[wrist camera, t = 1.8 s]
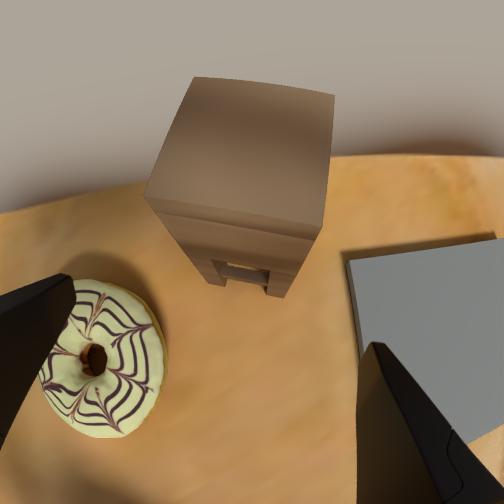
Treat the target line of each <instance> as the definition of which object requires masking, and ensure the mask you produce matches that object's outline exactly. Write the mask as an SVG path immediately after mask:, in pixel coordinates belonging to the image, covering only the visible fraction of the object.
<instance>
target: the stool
mask: <svg viewBox="0 0 504 504" xmlns="http://www.w3.org/2000/svg"><path fill="white" fill-rule="evenodd" d="M334 100H335V95H332V94H327V93H322V92H317V91H312V90H307V89H301V88H295V87H288V86H283V85H276V84H269V83H261V82H253V81H244V80H233V79H222V78H206V77H194V78H193V80H192V82H191V84H190V86H189V88H188V90H187V92H186V94H185V96H184V99H183V101H182V103H181V105H180V107H179V109H178V112H177V114H176V116H175V118H174V120H173V123H172V125H171V127H170V130H169V132H168V134H167V137H166V139H165V141H164V144H163V146H162V149H161V151H160V153H159V156H158V159H157V161H156V163H155V166H154V169H153V171H152V174H151V176H150V179H149V182H148V184H147V187H146V190H145V193H144V195H143V196H144V198H145V199H146V201H147V202H148V203H149V205H150V206H151V208H152V209H153V210H154V212H155V213H156V214H157V216H158V217H159V219H160V220H161V221H162V223H163V224H164V225H165V227H166V228H167V230H168V231H169V232H170V234H171V235H172V236H173V238H174V239H175V240H176V242H177V243H178V244H179V246H180V247H181V248H182V250H183V251H184V252H185V254H186V255H187V256H188V258H189V259H190V260H191V262H192V263H193V264H194V266H195V267H196V268H197V270H198V271H199V272H200V273H201V275H202V276H203V277H204V279H205V280H206V281H207V282H208V283H209V284H214V285H219V286H224V287H225V286H226V281H227V278H228V279H233V280H238V281H243V282H248V283H253V284H258V285H263V286H268V287H267V293H266V295H269V296H274V297H280V298H284V297H285V295H286V293H287V291H288V290H289V288H290V286H291V284H292V282H293V281H294V279H295V277H296V275H297V273H298V272H299V270H300V268H301V266H302V264H303V262H304V261H305V259H306V257H307V255H308V253H309V251H310V249H311V247H312V246H313V244H314V242H315V240H316V238H317V236H318V234H319V232H320V230H321V229H322V226H323V218H324V210H325V201H326V193H327V183H328V174H329V164H330V153H331V142H332V141H331V140H332V129H333V115H334ZM226 262H229V263H234V264H239V265H244V266H249V267H254V268H260V269H265V270H270V273H265V272H259V271H254V270H249V269H244V268H239V267H234V266H229V265H227V263H226Z"/></svg>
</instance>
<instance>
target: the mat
mask: <svg viewBox="0 0 504 504" xmlns="http://www.w3.org/2000/svg"><path fill="white" fill-rule="evenodd" d="M346 269H347V275H348V280H349V286H350V292H351V298H352V304H353V310H354V317H355V323H356V330H357V338H358V345H359V353H360V360H361V358H362V356H363V354H364V352H365V350H366V348H367V346H368V345H369V343H370V342H372V341H376V342H383V343H385V344H386V345H387V346H388V347H389V349H390V350H391V351H392V352H393V353H394V355H395V356H396V357H397V358H398V359H399V361H400V362H401V363H402V364H403V365H404V367H405V368H406V369H407V370H408V372H409V373H410V374H411V375H412V377H413V378H414V379H415V380H416V381H417V383H418V384H419V385H420V386H421V388H422V389H423V390H424V391H425V393H426V394H427V395H428V396H429V398H430V399H431V400H432V402H433V403H434V404H435V405H436V407H437V408H438V409H439V410H440V412H441V413H442V414H443V416H444V417H445V418H446V419H447V421H448V422H449V423H450V425H451V426H452V429H454V430H455V431H456V432H457V434H458V435H459V436H460V438H461V439H462V440H463V441H464V443H465V444H468V443H470V442H472V441H474V440H476V439H478V438H479V437H481V436H483V435H485V434H487V433H489V432H490V431H492V430H494V429H496V428H497V427H499V426H501V425H502V424H504V238H501V239H494V240H488V241H482V242H475V243H469V244H462V245H456V246H449V247H442V248H435V249H428V250H421V251H414V252H407V253H400V254H393V255H386V256H378V257H371V258H364V259H356V260H349V261H348V262H347V263H346Z"/></svg>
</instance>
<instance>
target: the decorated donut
mask: <svg viewBox="0 0 504 504" xmlns="http://www.w3.org/2000/svg"><path fill="white" fill-rule="evenodd" d="M73 282H74V287H75V291H76V296H77V301H76V304H75V306H74V308H73V310H72V312H71V314H70V316H69V318H68V320H67V322H66V324H65V326H64V328H63V330H62V332H61V334H60V336H59V338H58V340H57V342H56V344H55V346H54V347H53V349H52V351H51V352H50V354H49V356H48V357H47V359H46V361H45V363H44V364H43V366H42V368H41V370H40V371H39V373H38V375H37V377H38V380H39V383H40V386H41V388H42V391H43V393H44V395H45V397H46V399H47V400H48V402H49V403H50V405H51V407H52V408H53V409H54V411H55V412H56V413H57V414H58V415H59V416H60V417H61V418H62V419H63V420H64V421H66V422H67V423H68V424H69V425H70V426H72V427H73V428H74V429H76V430H78V431H80V432H82V433H84V434H86V435H88V436H91V437H96V438H114V437H116V438H118V437H124V436H127V435H128V434H129V433H130V432H132V431H133V430H135V429H136V428H138V427H139V425H140V424H141V423H143V422H144V421H145V419H146V418H147V417H149V415H150V414H151V413H152V411H153V410H154V409H155V407H156V405H157V404H158V403H159V400H160V398H161V395H162V392H163V388H164V384H165V381H166V377H167V373H168V371H167V370H168V369H167V366H168V352H167V346H166V342H165V339H164V336H163V333H162V331H161V328H160V326H159V324H158V321H157V319H156V317H155V316H154V314H153V312H152V311H151V310H150V308H149V307H148V305H147V304H146V303H145V302H144V301H143V300H142V299H141V298H140V297H138V296H137V295H135V294H134V293H132V292H130V291H128V290H126V289H124V288H121V287H119V286H115V285H114V284H111V283H109V282H106V283H105V282H100V281H97V280H93V279H81V280H75V281H73ZM92 344H99V345H101V346H103V347H104V348H105V352H106V353H107V357H108V359H107V364H106V370H105V371H104V373H103V374H101V375H100V376H95V375H94V374H93V372H92V371H91V370H90V368H89V367H90V366H89V365H88V360H87V357H88V356H87V354H88V351H89V348H90V347H91V345H92Z"/></svg>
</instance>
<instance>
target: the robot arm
mask: <svg viewBox="0 0 504 504" xmlns="http://www.w3.org/2000/svg"><path fill="white" fill-rule="evenodd" d="M76 301H77V296H76V291H75V287H74V282H73V279H72V277H71V276H69V275H66V274H63V273H59V274H56V275H54V276H51V277H48V278H46V279H43V280H40V281H37V282H35V283H32V284H29V285H27V286H24V287H22V288H19V289H16V290H14V291H11V292H9V293H6V294H4V295H1V296H0V450H1V448H2V445H3V443H4V441H5V438H6V436H7V434H8V432H9V430H10V427H11V425H12V423H13V421H14V419H15V417H16V415H17V413H18V411H19V409H20V407H21V405H22V403H23V401H24V399H25V397H26V395H27V393H28V391H29V390H30V388H31V386H32V384H33V382H34V380H35V378H36V377H37V375H38V373H39V371H40V370H41V368H42V366H43V364H44V363H45V361H46V359H47V357H48V356H49V354H50V352H51V351H52V349H53V347H54V346H55V344H56V342H57V340H58V338H59V336H60V334H61V332H62V330H63V328H64V326H65V324H66V322H67V320H68V318H69V316H70V314H71V312H72V310H73V308H74V306H75V304H76ZM356 439H357V502H356V504H504V487H503V486H502V485H501V484H500V483H499V482H498V481H497V480H496V478H495V477H494V476H493V475H492V474H491V473H490V472H489V471H488V470H487V468H486V467H485V466H484V465H483V464H482V463H481V462H480V461H479V459H478V458H477V457H476V456H475V455H474V454H473V453H472V451H471V450H470V449H469V448H468V446H467V445H466V444H465V443H464V441H463V440H462V439H461V438H460V436H459V435H458V434H457V432H456V431H455V430H454V429H452V426H451V425H450V423H449V422H448V421H447V419H446V418H445V417H444V416H443V414H442V413H441V412H440V410H439V409H438V408H437V407H436V405H435V404H434V403H433V402H432V400H431V399H430V398H429V396H428V395H427V394H426V393H425V391H424V390H423V389H422V388H421V386H420V385H419V384H418V383H417V381H416V380H415V379H414V378H413V377H412V375H411V374H410V373H409V372H408V370H407V369H406V368H405V367H404V365H403V364H402V363H401V362H400V361H399V359H398V358H397V357H396V356H395V355H394V353H393V352H392V351H391V350H390V349H389V347H388V346H387V345H386V344H385V343H383V342H376V341H372V342H370V343H369V345H368V346H367V348H366V350H365V352H364V354H363V356H362V358H361V360H360V363H359V367H358V386H357V403H356Z"/></svg>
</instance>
